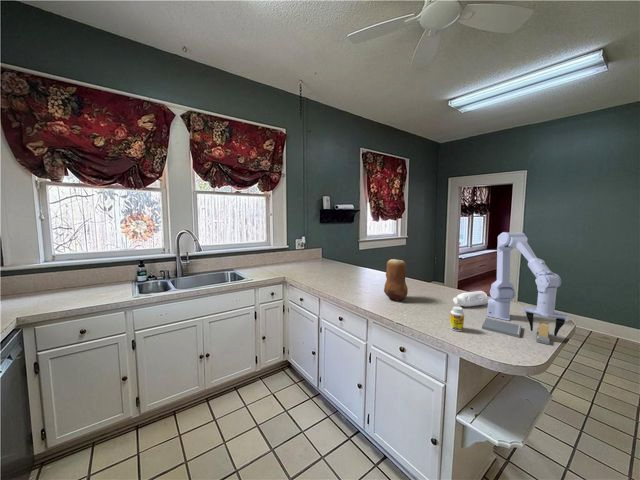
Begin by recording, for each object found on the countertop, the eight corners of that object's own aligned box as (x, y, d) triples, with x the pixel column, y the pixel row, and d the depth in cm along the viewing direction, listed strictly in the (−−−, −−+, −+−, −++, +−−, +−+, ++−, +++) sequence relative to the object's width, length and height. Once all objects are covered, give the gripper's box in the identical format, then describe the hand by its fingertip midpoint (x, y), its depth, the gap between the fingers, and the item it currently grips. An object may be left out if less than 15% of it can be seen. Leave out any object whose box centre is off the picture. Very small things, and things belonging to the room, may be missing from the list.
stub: (536, 341, 110) (537, 327, 109) (536, 331, 119) (538, 318, 118) (549, 344, 107) (550, 330, 106) (548, 333, 116) (549, 320, 116)
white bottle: (449, 305, 153) (450, 291, 152) (476, 302, 158) (476, 289, 157) (460, 310, 145) (460, 296, 144) (487, 306, 150) (488, 293, 149)
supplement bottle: (452, 331, 120) (453, 309, 118) (448, 326, 125) (449, 305, 124) (465, 332, 119) (466, 310, 118) (460, 326, 124) (461, 305, 123)
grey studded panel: (481, 328, 122) (482, 325, 122) (486, 320, 131) (486, 317, 131) (519, 337, 113) (519, 334, 113) (521, 328, 122) (521, 325, 122)
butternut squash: (404, 296, 169) (405, 257, 166) (409, 303, 155) (411, 261, 153) (382, 295, 170) (383, 257, 167) (385, 302, 157) (386, 261, 154)
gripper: (524, 300, 113) (521, 331, 114) (570, 308, 104) (567, 341, 105) (524, 296, 118) (522, 325, 120) (569, 303, 109) (565, 335, 110)
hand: (543, 332), depth 113 cm, fingers open, 7 cm apart
